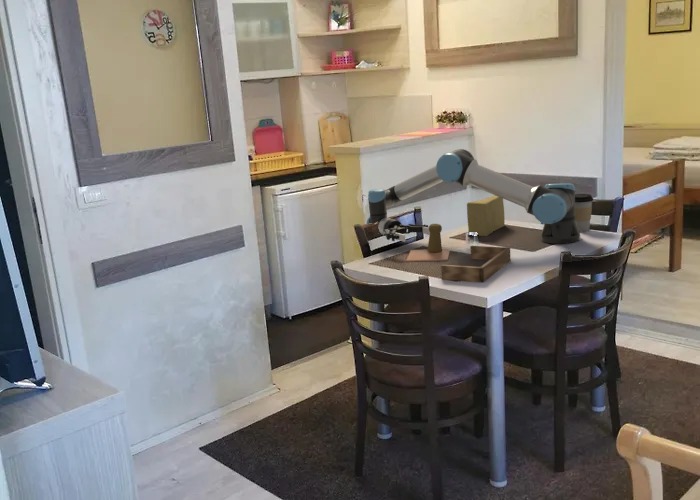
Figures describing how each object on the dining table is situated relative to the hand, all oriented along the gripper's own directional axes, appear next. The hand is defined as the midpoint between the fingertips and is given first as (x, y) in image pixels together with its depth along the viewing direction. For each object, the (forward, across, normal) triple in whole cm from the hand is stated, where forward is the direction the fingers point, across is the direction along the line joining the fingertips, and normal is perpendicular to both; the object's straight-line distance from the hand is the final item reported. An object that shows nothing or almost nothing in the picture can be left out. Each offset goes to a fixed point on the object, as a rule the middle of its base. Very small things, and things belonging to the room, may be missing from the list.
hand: (418, 235), depth 275 cm
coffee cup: (+20, -69, -8) cm, 73 cm away
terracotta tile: (+5, -1, -8) cm, 9 cm away
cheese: (-10, -45, -8) cm, 46 cm away
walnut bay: (+34, -1, -8) cm, 35 cm away
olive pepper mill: (+3, -5, -7) cm, 9 cm away
